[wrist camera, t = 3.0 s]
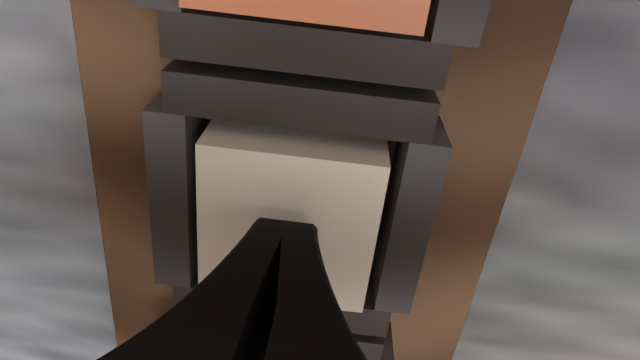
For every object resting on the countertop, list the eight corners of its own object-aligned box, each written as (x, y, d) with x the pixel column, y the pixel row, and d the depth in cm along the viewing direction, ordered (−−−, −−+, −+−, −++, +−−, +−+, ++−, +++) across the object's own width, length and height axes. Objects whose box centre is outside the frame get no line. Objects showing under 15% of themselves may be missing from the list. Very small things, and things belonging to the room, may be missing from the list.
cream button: (220, 106, 13) (195, 144, 11) (385, 125, 13) (390, 167, 11) (219, 239, 15) (198, 293, 13) (361, 257, 15) (362, 312, 13)
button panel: (66, -396, 10) (-82, -549, 7) (640, -329, 10) (787, -448, 7) (145, 379, 22) (106, 468, 19) (414, 411, 22) (425, 507, 19)
